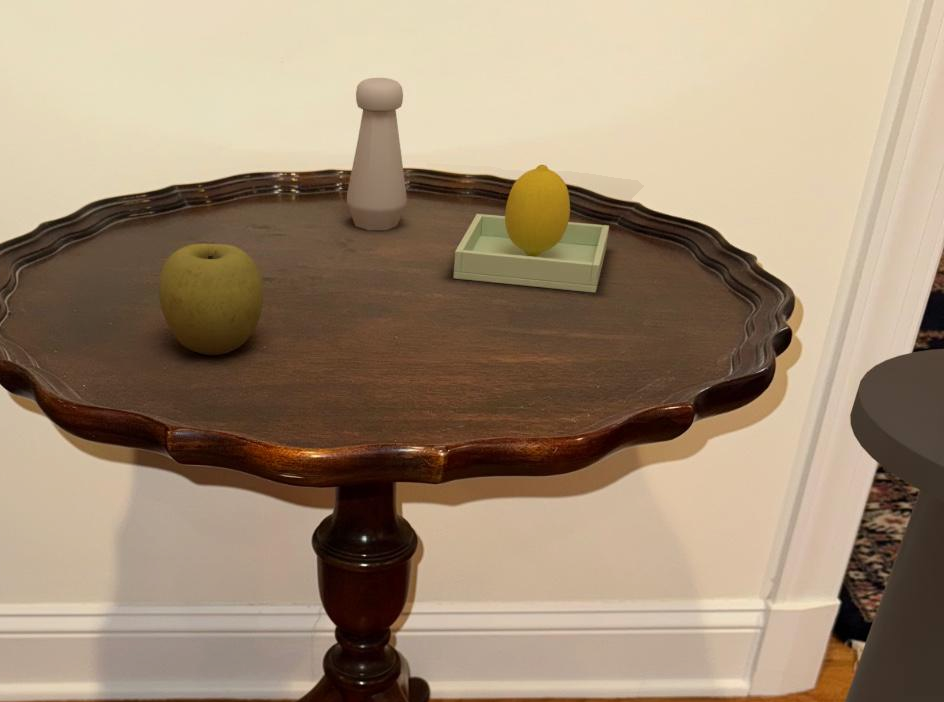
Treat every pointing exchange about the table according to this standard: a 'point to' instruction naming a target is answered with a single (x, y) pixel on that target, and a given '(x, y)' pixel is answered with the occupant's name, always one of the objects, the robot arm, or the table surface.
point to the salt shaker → (377, 158)
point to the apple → (211, 297)
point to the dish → (502, 261)
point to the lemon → (537, 211)
